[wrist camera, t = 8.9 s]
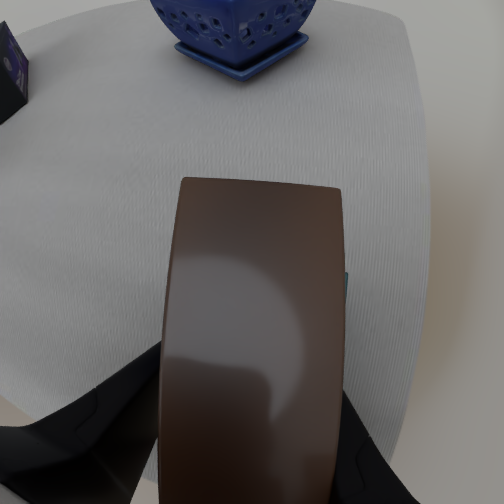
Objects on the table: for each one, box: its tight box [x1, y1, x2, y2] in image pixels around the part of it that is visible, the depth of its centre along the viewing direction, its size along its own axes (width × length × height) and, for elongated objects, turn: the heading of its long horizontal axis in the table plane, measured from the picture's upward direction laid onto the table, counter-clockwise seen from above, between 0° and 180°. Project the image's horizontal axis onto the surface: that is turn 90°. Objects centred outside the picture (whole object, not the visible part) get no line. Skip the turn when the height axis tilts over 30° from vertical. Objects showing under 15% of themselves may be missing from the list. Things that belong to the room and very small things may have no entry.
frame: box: [158, 177, 345, 504], centre depth 10 cm, size 4×10×11 cm, turn 177°
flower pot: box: [150, 0, 316, 81], centre depth 25 cm, size 13×13×12 cm
